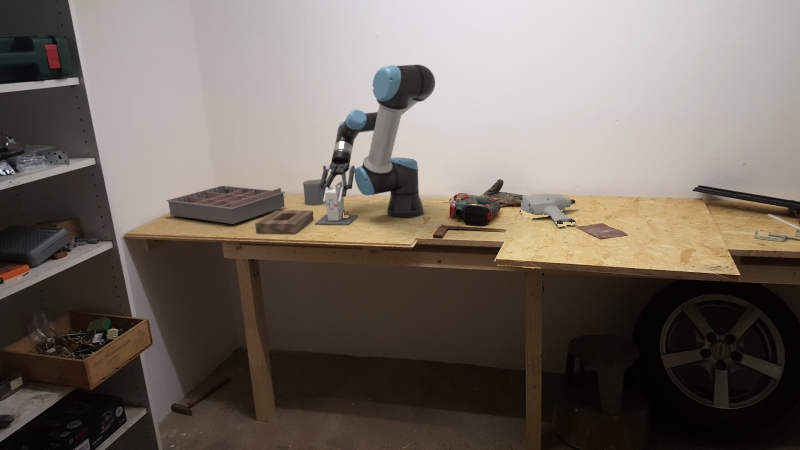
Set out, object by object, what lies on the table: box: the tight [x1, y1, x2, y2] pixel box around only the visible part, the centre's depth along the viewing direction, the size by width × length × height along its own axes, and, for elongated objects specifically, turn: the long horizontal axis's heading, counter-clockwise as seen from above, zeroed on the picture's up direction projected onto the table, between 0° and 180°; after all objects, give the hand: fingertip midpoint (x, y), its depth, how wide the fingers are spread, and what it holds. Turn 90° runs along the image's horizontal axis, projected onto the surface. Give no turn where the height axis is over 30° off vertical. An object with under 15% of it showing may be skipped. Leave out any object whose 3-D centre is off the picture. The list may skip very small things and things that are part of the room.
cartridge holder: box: [254, 209, 314, 235], centre depth 233 cm, size 16×20×4 cm
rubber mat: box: [314, 213, 359, 226], centre depth 239 cm, size 14×14×1 cm
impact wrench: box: [519, 193, 576, 224], centre depth 227 cm, size 8×23×25 cm
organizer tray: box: [165, 185, 286, 225], centre depth 257 cm, size 32×40×10 cm
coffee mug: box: [302, 178, 333, 206], centre depth 268 cm, size 13×10×10 cm
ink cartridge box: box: [325, 181, 345, 221], centre depth 237 cm, size 9×5×15 cm, turn 168°
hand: (332, 202), depth 233 cm, fingers open, 6 cm apart
